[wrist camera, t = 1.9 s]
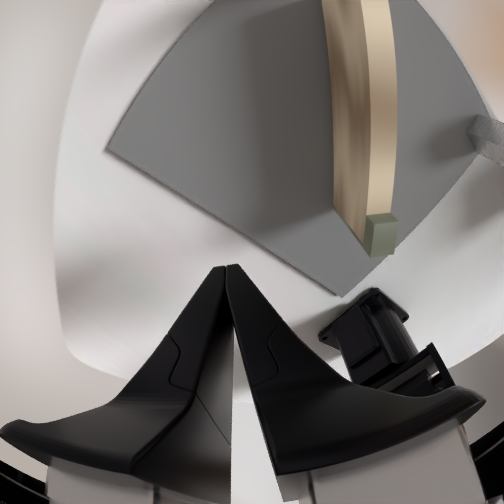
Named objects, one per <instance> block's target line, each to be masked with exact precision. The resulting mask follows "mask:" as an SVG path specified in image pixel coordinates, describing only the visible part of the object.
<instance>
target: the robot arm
mask: <svg viewBox="0 0 504 504" xmlns="http://www.w3.org/2000/svg"><path fill="white" fill-rule="evenodd" d="M408 318H409V315H408V313H407V312H406V311H405V310H404V309H403V308H401V307H400V306H399V305H398V304H397V303H396V302H394V301H393V300H392V299H391V298H390V297H388V296H387V295H386V294H385V293H384V292H382V291H381V290H380V289H379V288H373V289H372V290H370V291H369V292H368V293H367V294H366V295H365V296H364V297H362V298H361V299H360V300H359V301H358V302H357V303H356V304H354V305H353V306H352V307H351V308H350V309H349V310H347V311H346V312H345V313H344V314H343V315H341V316H340V317H339V318H338V319H336V320H335V321H334V322H333V323H332V324H330V325H329V326H328V327H327V328H325V329H324V330H323V331H322V332H320V333H319V334H318V338H319V341H320V342H322V343H325V344H327V345H329V346H332V347H334V348H336V349H338V350H340V351H341V354H342V356H343V359H344V362H345V365H346V368H347V370H348V373H349V376H350V379H351V382H350V381H349V380H347V379H345V378H344V377H342V376H341V375H340V374H339V373H337V372H336V371H335V370H334V369H333V368H332V367H330V366H329V365H328V364H327V363H326V362H325V361H324V360H322V359H321V358H320V357H319V356H318V355H317V354H316V353H314V352H313V351H312V350H311V349H310V348H309V347H308V346H307V345H306V344H305V343H304V342H303V341H302V340H301V339H299V337H298V336H297V335H296V334H295V333H294V332H293V331H292V330H291V328H290V327H289V326H288V325H287V324H286V322H285V321H284V320H283V319H282V318H281V316H280V315H279V314H278V313H277V312H276V310H275V309H274V308H273V307H272V305H271V304H270V303H269V302H268V300H267V299H266V298H265V297H264V295H263V294H262V293H261V292H260V290H259V289H258V288H257V287H256V285H255V284H254V283H253V282H252V280H251V279H250V278H249V277H248V275H247V274H246V273H245V272H244V270H243V269H242V268H241V267H240V265H239V264H232V265H227V266H226V267H225V266H217V267H213V268H212V270H211V271H210V272H209V274H208V275H207V277H206V278H205V280H204V281H203V282H202V284H201V285H200V287H199V288H198V289H197V291H196V292H195V294H194V295H193V297H192V298H191V299H190V301H189V302H188V304H187V305H186V307H185V308H184V310H183V311H182V312H181V314H180V315H179V317H178V318H177V320H176V321H175V323H174V324H173V325H172V327H171V328H170V330H169V331H168V334H166V335H165V337H164V338H163V340H162V341H161V343H160V344H159V346H158V347H157V348H156V350H155V351H154V352H153V354H152V355H151V356H150V357H149V359H148V360H147V361H146V362H145V364H144V365H143V366H142V367H141V368H140V370H139V371H138V372H137V373H136V374H135V375H134V377H133V378H132V379H131V380H130V381H129V382H128V384H127V385H126V386H125V387H124V388H123V389H122V391H121V392H120V393H119V394H118V395H117V396H116V397H115V398H114V399H113V400H111V401H110V402H109V403H107V404H105V405H103V406H101V407H98V408H95V409H92V410H89V411H86V412H83V413H79V414H76V415H73V416H70V417H67V418H63V419H60V420H56V421H52V422H48V423H30V422H27V421H24V420H19V419H18V420H15V421H12V422H10V423H7V424H6V425H4V426H3V427H2V428H1V429H0V437H1V438H2V439H4V440H5V441H6V442H8V443H9V444H11V445H12V446H14V447H15V448H17V449H19V450H20V451H22V452H24V453H25V454H27V455H29V456H30V457H32V458H34V459H36V460H38V461H39V462H41V463H43V464H45V465H47V466H48V469H47V476H46V483H44V482H42V481H40V480H37V479H35V478H33V477H31V476H29V475H27V474H25V473H23V472H21V471H19V470H17V469H15V468H13V467H12V466H10V465H8V464H6V463H4V462H3V461H1V460H0V504H230V503H231V431H232V388H233V354H234V328H235V332H236V336H237V340H238V344H239V348H240V352H241V356H242V360H243V364H244V368H245V372H246V375H247V379H248V383H249V387H250V390H251V394H252V398H253V401H254V405H255V409H256V412H257V416H258V419H259V422H260V426H261V429H262V433H263V437H264V440H265V443H266V447H267V450H268V453H269V457H270V460H271V463H272V467H273V469H274V473H275V476H276V480H277V483H278V486H279V489H280V492H281V495H282V499H283V502H287V501H294V500H299V504H504V421H503V422H502V423H501V424H499V425H498V426H497V427H495V428H494V429H493V430H491V431H490V432H489V433H487V434H486V435H484V436H483V437H481V438H480V439H478V440H477V441H476V442H474V443H472V444H471V445H469V442H468V439H467V435H466V432H465V428H464V426H463V423H464V422H466V421H467V420H468V419H469V418H470V417H471V416H473V415H474V414H475V413H476V412H477V411H478V410H479V409H480V408H481V407H482V406H483V405H484V404H485V403H486V399H485V398H484V397H483V396H482V395H481V394H480V393H478V392H477V391H475V390H473V389H470V388H467V387H464V386H461V385H455V383H454V381H453V379H452V377H451V375H450V374H449V372H448V370H447V368H446V366H445V364H444V362H443V360H442V359H441V357H440V355H439V353H438V352H437V350H436V348H435V346H434V345H433V343H432V342H431V343H430V344H429V345H427V346H426V347H427V348H425V349H424V350H422V351H421V352H420V353H419V352H418V350H417V348H416V347H415V345H414V343H413V341H412V339H411V337H410V336H409V334H408V332H407V330H406V329H405V327H404V325H403V323H404V322H405V321H407V320H408ZM438 370H439V372H440V373H439V374H437V375H436V376H434V377H433V378H432V377H431V375H433V374H434V373H435V372H437V371H438Z"/></svg>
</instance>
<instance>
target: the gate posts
mask: <svg viewBox="0 0 504 504" xmlns="http://www.w3.org/2000/svg"><path fill="white" fill-rule="evenodd" d="M465 132H466V134H467V136H468V138H469V140H470V142H471V144H472V146H473V148H474V151H475V152H476V153H478V154H480V155H482V156H484V157H486V158H488V159H490V160H492V161H494V162H496V163H497V164H499V165H501V166H503V167H504V123H502V122H499V121H497V120H494V119H491V118H489V117H486V116H483V115H480V114H478V115H477V116H476V118H475V119H474V120H473V122H472V123H471V124H470V125H469V127H468V128H467V129H466V131H465Z"/></svg>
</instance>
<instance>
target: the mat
mask: <svg viewBox="0 0 504 504" xmlns="http://www.w3.org/2000/svg"><path fill="white" fill-rule="evenodd" d="M388 3H389V9H390V15H391V22H392V29H393V38H394V47H395V59H396V75H397V145H396V162H395V174H394V185H393V195H392V203H391V211H390V213H391V214H392V215H393V216H394V217H395V218H396V219H397V220H398V221H399V227H398V233H397V239H396V244H395V248H396V247H397V246H398V245H399V244H400V243H401V242H402V241H403V240H404V239H405V238H406V237H407V236H408V235H409V234H410V233H411V232H412V231H413V230H414V229H415V227H416V226H417V225H418V224H419V223H420V222H421V221H422V220H423V219H424V218H425V217H426V216H427V215H428V213H429V212H430V211H431V210H432V209H433V208H434V207H435V206H436V205H437V203H438V202H439V201H440V200H441V199H442V198H443V197H444V195H445V194H446V193H447V192H448V191H449V190H450V188H451V187H452V186H453V185H454V184H455V183H456V181H457V180H458V179H459V178H460V176H461V175H462V174H463V173H464V171H465V170H466V169H467V168H468V166H469V165H470V164H471V163H472V161H473V160H474V159H475V157H476V156H477V155H478V153H476V152H475V151H474V148H473V146H472V144H471V142H470V140H469V138H468V136H467V134H466V132H465V131H466V129H467V128H468V127H469V125H470V124H471V123H472V122H473V120H474V119H475V118H476V116H477V115H478V114H480V115H483V116H486V117H489V118H490V116H489V114H488V112H487V109H486V107H485V105H484V103H483V101H482V99H481V97H480V95H479V93H478V91H477V89H476V87H475V85H474V83H473V81H472V79H471V77H470V76H469V74H468V72H467V70H466V69H465V67H464V65H463V64H462V62H461V60H460V59H459V57H458V55H457V54H456V52H455V51H454V49H453V48H452V46H451V45H450V43H449V42H448V40H447V39H446V37H445V36H444V34H443V33H442V32H441V30H440V29H439V28H438V26H437V25H436V24H435V22H434V21H433V20H432V18H431V17H430V16H429V15H428V13H427V12H426V11H425V10H424V8H423V7H422V6H421V5H420V4H419V3H418V1H417V0H388ZM107 149H109V150H111V151H112V152H114V153H115V154H117V155H119V156H120V157H122V158H124V159H125V160H127V161H128V162H130V163H132V164H133V165H135V166H136V167H138V168H140V169H141V170H143V171H144V172H146V173H148V174H149V175H151V176H152V177H154V178H156V179H157V180H159V181H160V182H162V183H164V184H165V185H167V186H168V187H170V188H172V189H173V190H175V191H176V192H178V193H180V194H181V195H183V196H184V197H186V198H188V199H189V200H191V201H192V202H194V203H195V204H197V205H199V206H200V207H202V208H203V209H205V210H207V211H208V212H210V213H211V214H213V215H214V216H216V217H218V218H219V219H221V220H222V221H224V222H225V223H227V224H229V225H230V226H232V227H233V228H235V229H236V230H238V231H240V232H241V233H243V234H244V235H246V236H247V237H249V238H250V239H252V240H254V241H255V242H257V243H258V244H260V245H261V246H263V247H265V248H266V249H268V250H269V251H271V252H272V253H274V254H275V255H277V256H278V257H280V258H282V259H283V260H285V261H286V262H288V263H289V264H291V265H292V266H294V267H295V268H297V269H299V270H300V271H302V272H303V273H305V274H306V275H308V276H309V277H311V278H312V279H314V280H315V281H317V282H319V283H320V284H322V285H323V286H325V287H326V288H328V289H329V290H331V291H332V292H334V293H335V294H337V295H338V296H340V297H341V298H342V297H344V296H345V295H346V294H347V293H348V292H349V291H350V290H352V289H353V288H354V287H355V286H356V285H357V284H358V283H359V282H360V281H361V280H363V279H364V278H365V277H366V276H367V275H368V274H369V273H370V272H371V271H372V270H373V269H374V268H375V267H376V266H378V265H379V264H380V263H381V262H382V261H383V260H384V259H385V258H386V257H387V256H388V255H385V256H379V257H373V258H370V257H369V256H368V255H367V253H366V252H365V250H364V249H363V248H362V246H361V245H360V243H359V242H358V241H357V239H356V238H355V237H354V235H353V234H352V232H351V231H350V230H349V228H348V227H347V226H346V224H345V223H344V222H343V221H342V219H341V218H340V217H339V215H338V214H337V213H336V211H335V210H334V209H333V195H334V143H333V113H332V94H331V80H330V67H329V57H328V47H327V38H326V30H325V22H324V15H323V8H322V2H321V0H215V1H214V2H213V3H212V4H211V5H210V6H209V7H208V8H207V9H206V10H205V11H204V13H203V14H202V15H201V16H200V17H199V18H198V19H197V20H196V21H195V22H194V23H193V24H192V26H191V27H190V28H189V29H188V30H187V31H186V32H185V33H184V35H183V36H182V37H181V38H180V39H179V41H178V42H177V43H176V44H175V45H174V47H173V48H172V49H171V50H170V52H169V53H168V54H167V56H166V57H165V58H164V59H163V61H162V62H161V63H160V65H159V66H158V67H157V69H156V70H155V72H154V73H153V74H152V76H151V77H150V79H149V80H148V81H147V83H146V84H145V86H144V87H143V89H142V90H141V92H140V93H139V95H138V96H137V98H136V99H135V101H134V103H133V104H132V106H131V107H130V109H129V111H128V112H127V114H126V115H125V117H124V119H123V121H122V122H121V124H120V126H119V127H118V129H117V131H116V133H115V135H114V136H113V138H112V140H111V142H110V144H109V146H108V148H107Z"/></svg>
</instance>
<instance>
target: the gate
mask: <svg viewBox="0 0 504 504" xmlns="http://www.w3.org/2000/svg"><path fill="white" fill-rule="evenodd" d="M321 2H322V8H323V15H324V22H325V30H326V38H327V47H328V57H329V67H330V80H331V94H332V113H333V143H334V195H333V209H334V210H335V211H336V213H337V214H338V215H339V217H340V218H341V219H342V221H343V222H344V223H345V224H346V226H347V227H348V228H349V230H350V231H351V232H352V234H353V235H354V237H355V238H356V239H357V241H358V242H359V243H360V245H361V246H362V248H363V249H364V250H365V252H366V253H367V255H368V256H369V257H370V258H373V257H379V256H385V255H390V254H394V249H395V244H396V239H397V233H398V227H399V221H398V220H397V219H396V218H395V217H394V216H393V215H392V214H391V213H390V211H391V203H392V195H393V185H394V174H395V162H396V145H397V75H396V59H395V47H394V38H393V29H392V22H391V15H390V9H389V3H388V0H321Z"/></svg>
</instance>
